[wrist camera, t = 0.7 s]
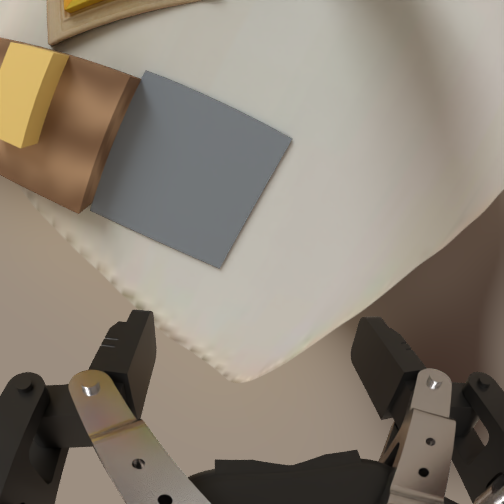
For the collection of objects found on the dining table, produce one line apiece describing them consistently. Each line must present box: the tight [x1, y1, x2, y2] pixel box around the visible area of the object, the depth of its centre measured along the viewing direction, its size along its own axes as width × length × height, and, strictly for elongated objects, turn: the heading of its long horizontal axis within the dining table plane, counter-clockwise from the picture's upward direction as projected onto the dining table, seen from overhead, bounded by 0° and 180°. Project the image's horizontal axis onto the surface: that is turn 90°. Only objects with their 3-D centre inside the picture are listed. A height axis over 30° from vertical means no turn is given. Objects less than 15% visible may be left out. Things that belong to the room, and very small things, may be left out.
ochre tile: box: [0, 42, 69, 148], centre depth 20 cm, size 9×6×3 cm, turn 152°
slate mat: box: [90, 71, 292, 269], centre depth 30 cm, size 16×16×1 cm
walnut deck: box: [0, 38, 141, 214], centre depth 24 cm, size 14×22×4 cm, turn 62°
